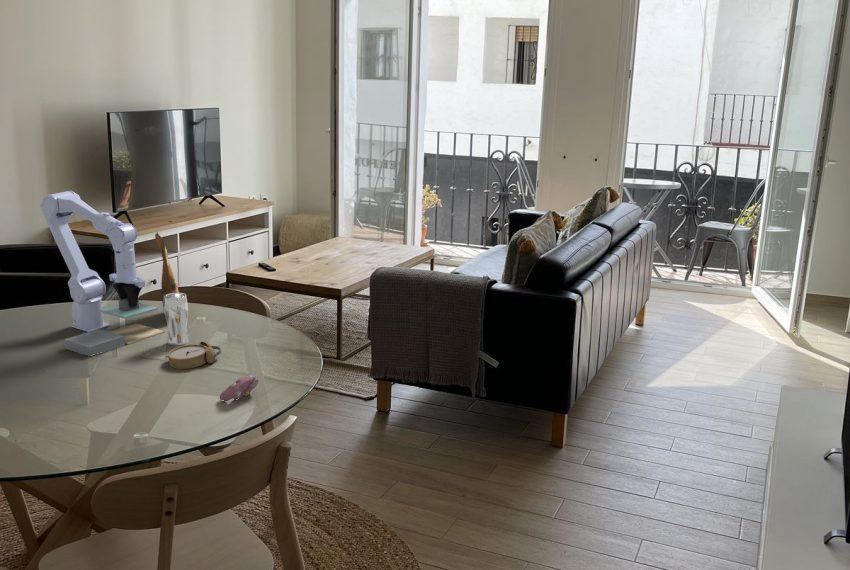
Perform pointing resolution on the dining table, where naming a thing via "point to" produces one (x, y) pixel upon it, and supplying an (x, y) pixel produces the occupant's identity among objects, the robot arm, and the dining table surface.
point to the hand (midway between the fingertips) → (129, 305)
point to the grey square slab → (94, 342)
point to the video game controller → (239, 388)
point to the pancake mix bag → (166, 271)
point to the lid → (128, 309)
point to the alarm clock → (192, 355)
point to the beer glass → (176, 318)
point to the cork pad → (136, 332)
